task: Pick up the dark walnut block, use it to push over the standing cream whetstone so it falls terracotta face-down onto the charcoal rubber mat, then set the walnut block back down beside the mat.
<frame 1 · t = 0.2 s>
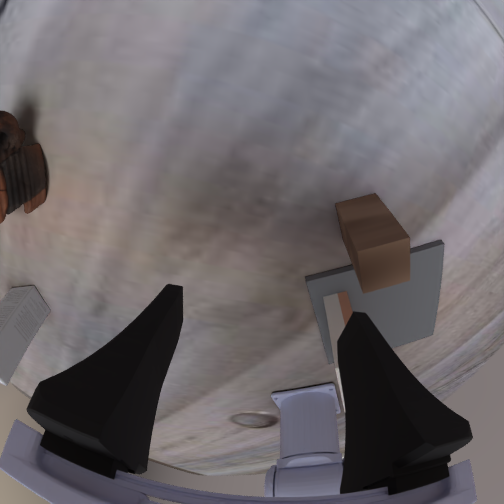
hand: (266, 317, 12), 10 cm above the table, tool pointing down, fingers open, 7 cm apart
walnut block: (359, 216, 19), on the table
pottery mug: (18, 158, 18), on the table
whetstone: (341, 325, 24), point 1 cm above the table, touching mat
skincare box: (31, 297, 27), on the table
mat: (381, 309, 24), on the table
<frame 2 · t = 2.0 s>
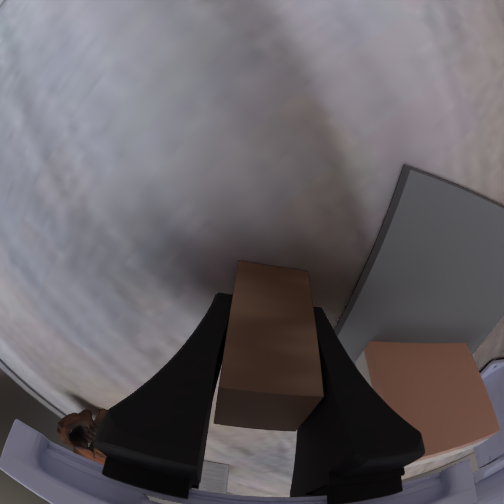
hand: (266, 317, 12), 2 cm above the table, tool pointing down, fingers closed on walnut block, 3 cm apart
walnut block: (267, 291, 13), on the table, touching gripper
pottery mug: (108, 417, 26), on the table
whetstone: (416, 353, 15), point 1 cm above the table, touching mat
skincare box: (212, 464, 34), on the table
mat: (447, 299, 13), on the table
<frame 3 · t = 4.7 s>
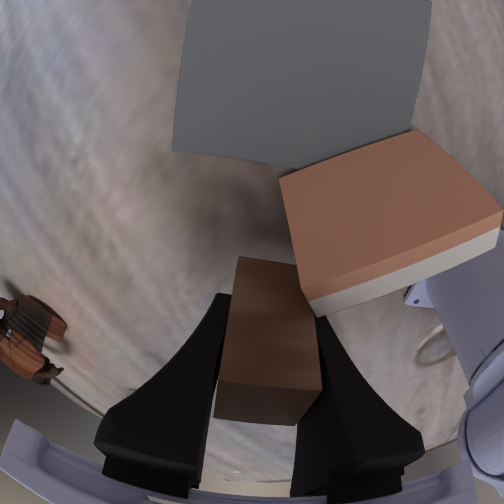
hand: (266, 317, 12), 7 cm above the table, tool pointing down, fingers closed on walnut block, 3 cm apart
walnut block: (266, 287, 13), point 5 cm above the table, touching gripper
pottery mug: (38, 316, 25), on the table
whetstone: (356, 167, 14), point 1 cm above the table, tilted 12°, touching gripper, mat
mat: (306, 56, 11), on the table
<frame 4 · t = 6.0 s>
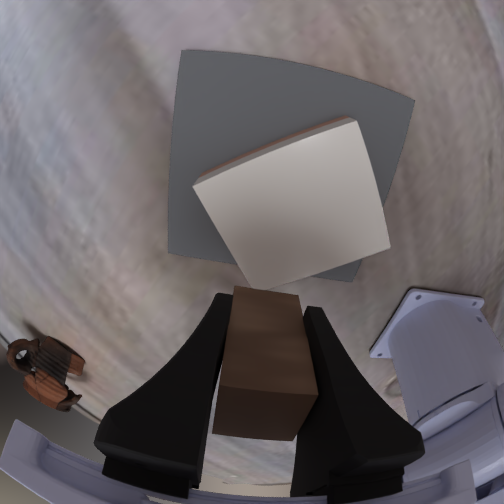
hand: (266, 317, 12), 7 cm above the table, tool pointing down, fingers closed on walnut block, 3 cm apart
walnut block: (261, 316, 14), point 5 cm above the table, tilted 11°, touching gripper
pottery mug: (56, 351, 28), on the table
whetstone: (320, 261, 16), point 2 cm above the table, tilted 90°, touching mat
mat: (282, 173, 15), on the table
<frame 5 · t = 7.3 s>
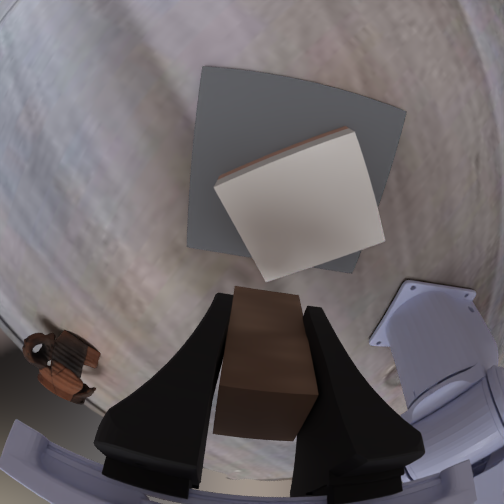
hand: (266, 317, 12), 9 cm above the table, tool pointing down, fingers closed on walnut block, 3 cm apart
walnut block: (261, 316, 14), point 7 cm above the table, tilted 11°, touching gripper
pottery mug: (71, 345, 31), on the table
whetstone: (323, 253, 18), point 2 cm above the table, tilted 90°, touching mat
mat: (290, 176, 17), on the table
when the fingers open (3 cm above the table, at t = 9.3 s): walnut block drops 1 cm, on the table.
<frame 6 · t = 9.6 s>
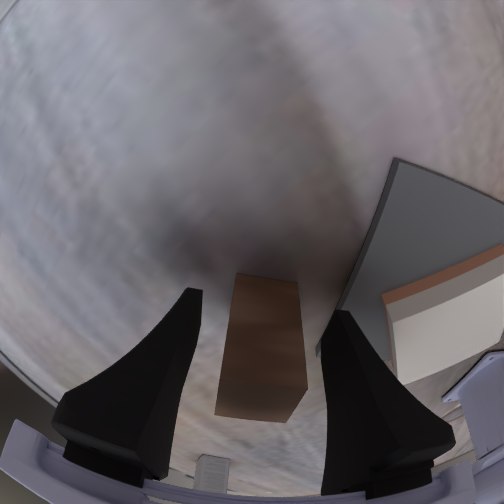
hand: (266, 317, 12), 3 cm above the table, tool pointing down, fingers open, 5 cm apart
walnut block: (261, 301, 15), on the table
whetstone: (447, 353, 15), point 2 cm above the table, tilted 90°, touching mat
skincare box: (213, 459, 34), on the table
mat: (440, 287, 14), on the table
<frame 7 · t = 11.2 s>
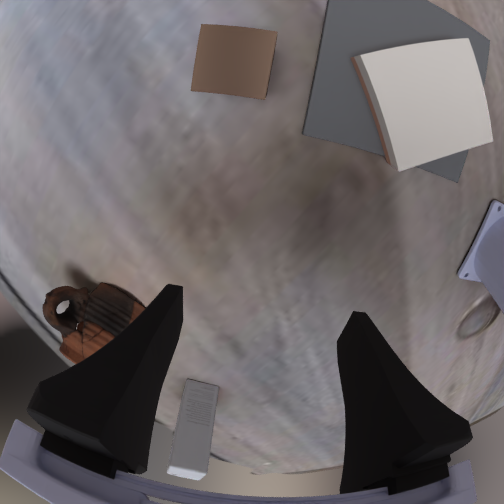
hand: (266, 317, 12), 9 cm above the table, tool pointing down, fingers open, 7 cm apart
walnut block: (245, 68, 14), on the table
pottery mug: (106, 307, 26), on the table
whetstone: (443, 150, 14), point 2 cm above the table, tilted 90°, touching mat
skincare box: (200, 390, 34), on the table
mat: (409, 73, 13), on the table
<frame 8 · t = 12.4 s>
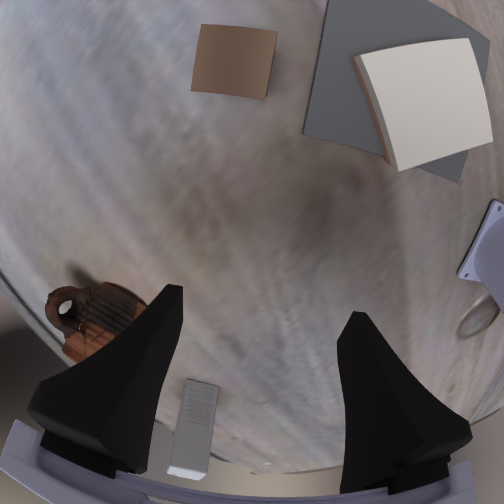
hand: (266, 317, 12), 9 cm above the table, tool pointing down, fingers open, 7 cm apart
walnut block: (245, 68, 14), on the table
pottery mug: (109, 307, 26), on the table
whetstone: (443, 150, 14), point 2 cm above the table, tilted 90°, touching mat
skincare box: (200, 390, 34), on the table
mat: (409, 73, 13), on the table
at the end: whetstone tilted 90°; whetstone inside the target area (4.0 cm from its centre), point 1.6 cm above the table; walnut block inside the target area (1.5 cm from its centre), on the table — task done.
